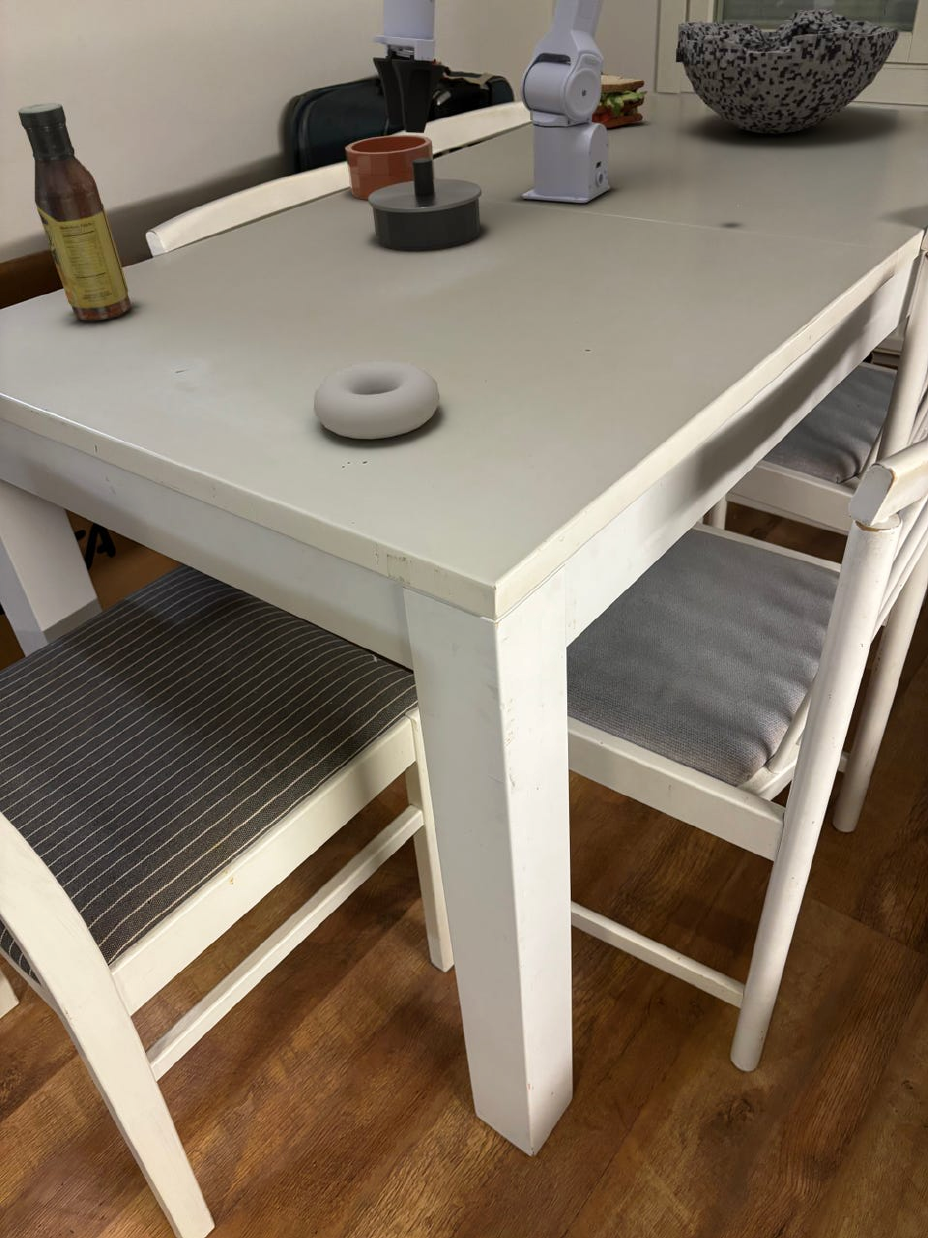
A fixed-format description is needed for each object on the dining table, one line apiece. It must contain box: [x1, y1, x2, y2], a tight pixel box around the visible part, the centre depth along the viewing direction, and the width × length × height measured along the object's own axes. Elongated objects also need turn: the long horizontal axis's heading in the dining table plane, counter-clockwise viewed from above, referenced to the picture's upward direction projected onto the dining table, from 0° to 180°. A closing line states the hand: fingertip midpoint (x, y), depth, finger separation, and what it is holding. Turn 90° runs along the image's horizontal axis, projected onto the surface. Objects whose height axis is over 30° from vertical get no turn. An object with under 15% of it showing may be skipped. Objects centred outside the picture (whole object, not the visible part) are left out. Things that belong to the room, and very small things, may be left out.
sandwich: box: [591, 71, 648, 129], centre depth 161 cm, size 16×12×8 cm
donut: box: [313, 360, 440, 440], centre depth 75 cm, size 10×4×10 cm
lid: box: [367, 158, 482, 213], centre depth 113 cm, size 14×14×5 cm
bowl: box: [675, 9, 901, 135], centre depth 146 cm, size 31×31×15 cm
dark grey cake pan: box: [372, 197, 481, 252], centre depth 116 cm, size 13×13×4 cm
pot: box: [344, 134, 436, 201], centre depth 135 cm, size 12×12×6 cm
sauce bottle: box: [17, 102, 132, 322], centre depth 96 cm, size 7×6×20 cm
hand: (406, 128), depth 112 cm, fingers open, 7 cm apart
